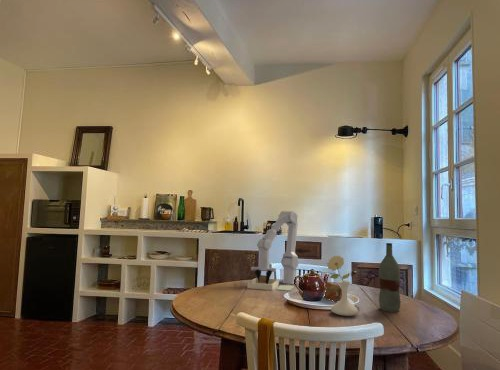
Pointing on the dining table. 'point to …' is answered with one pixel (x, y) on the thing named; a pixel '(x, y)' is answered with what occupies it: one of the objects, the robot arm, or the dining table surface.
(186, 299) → the dining table surface
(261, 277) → the block
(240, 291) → the dining table surface
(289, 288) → the mat
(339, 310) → the flower in vase
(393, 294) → the bottle
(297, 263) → the robot arm
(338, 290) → the tin
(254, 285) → the cream tray
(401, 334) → the dining table surface
